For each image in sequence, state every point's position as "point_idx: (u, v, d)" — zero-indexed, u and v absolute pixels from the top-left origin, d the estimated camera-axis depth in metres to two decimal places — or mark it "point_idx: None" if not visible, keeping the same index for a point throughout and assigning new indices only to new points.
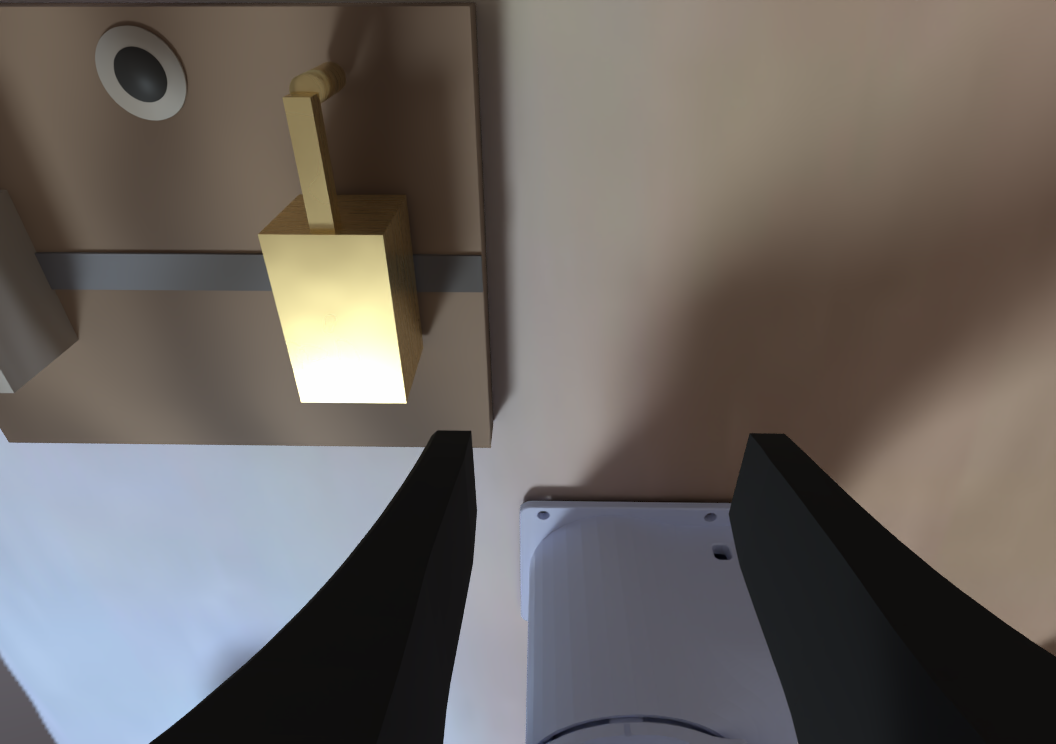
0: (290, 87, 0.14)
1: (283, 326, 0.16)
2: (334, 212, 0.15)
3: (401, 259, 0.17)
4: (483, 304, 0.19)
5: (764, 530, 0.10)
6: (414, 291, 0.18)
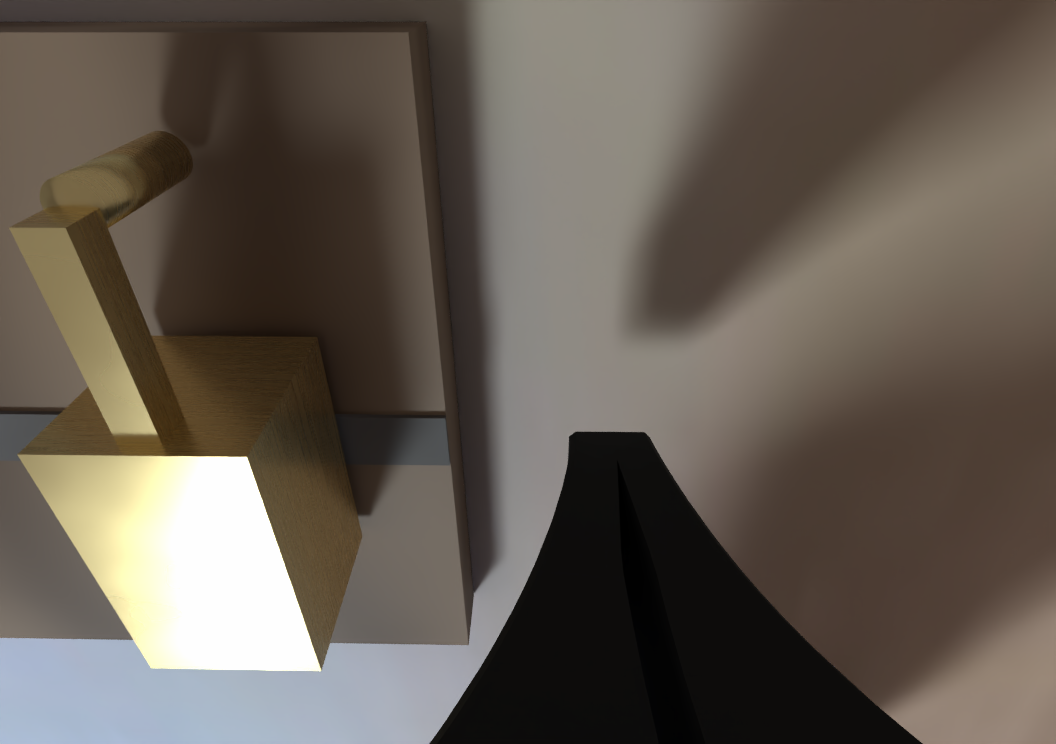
0: (42, 198, 0.07)
1: (100, 576, 0.10)
2: (160, 411, 0.08)
3: (305, 452, 0.10)
4: (451, 478, 0.13)
5: None
6: (340, 472, 0.12)
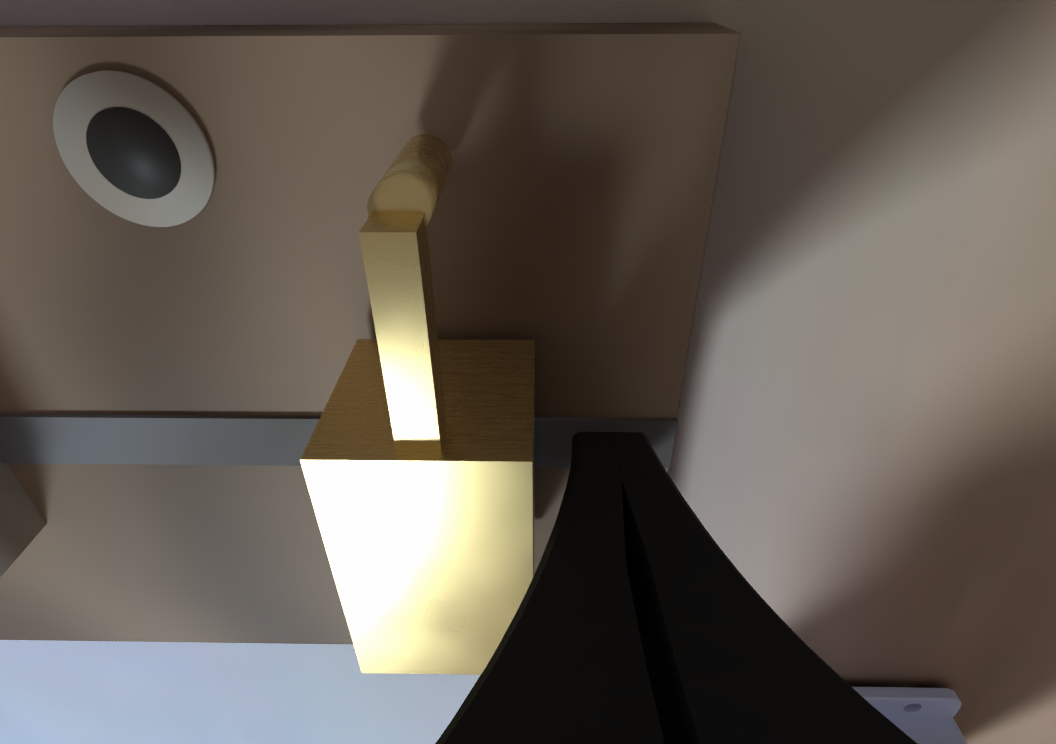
0: (370, 202, 0.07)
1: (338, 581, 0.09)
2: (440, 416, 0.08)
3: None
4: None
5: None
6: (534, 476, 0.12)
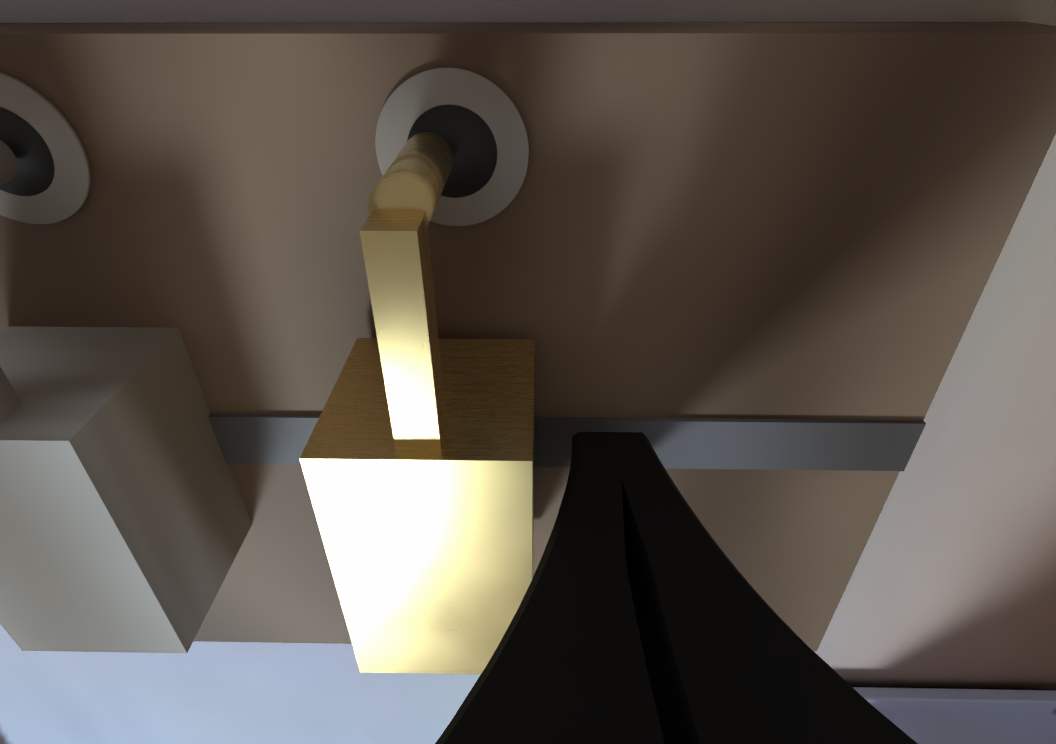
0: (370, 200, 0.07)
1: (336, 580, 0.09)
2: (440, 415, 0.08)
3: (533, 456, 0.10)
4: (891, 483, 0.13)
5: None
6: None
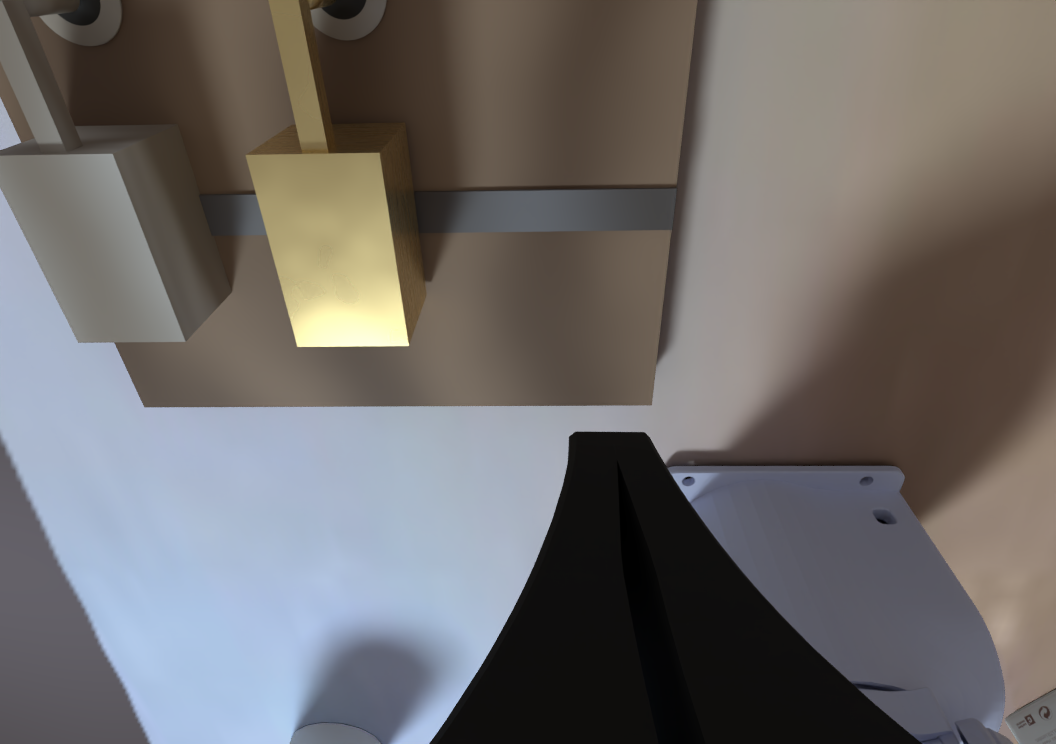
0: None
1: (276, 261, 0.15)
2: (327, 130, 0.14)
3: (400, 189, 0.16)
4: (669, 244, 0.18)
5: None
6: (416, 230, 0.17)
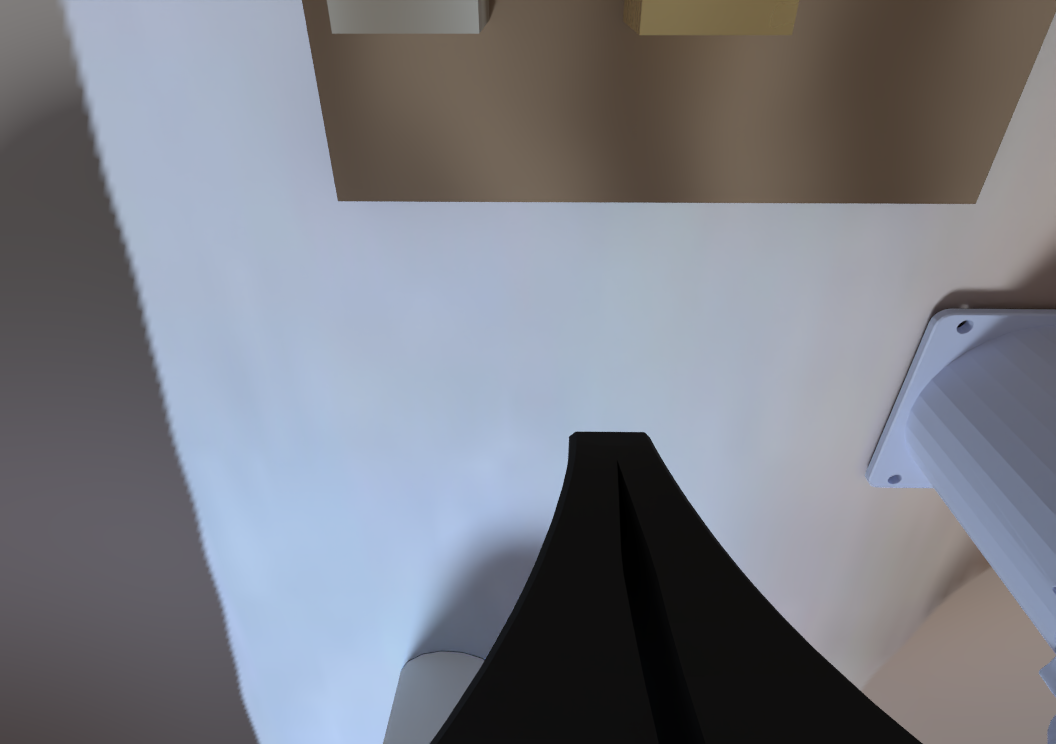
0: None
1: None
2: None
3: None
4: None
5: None
6: None
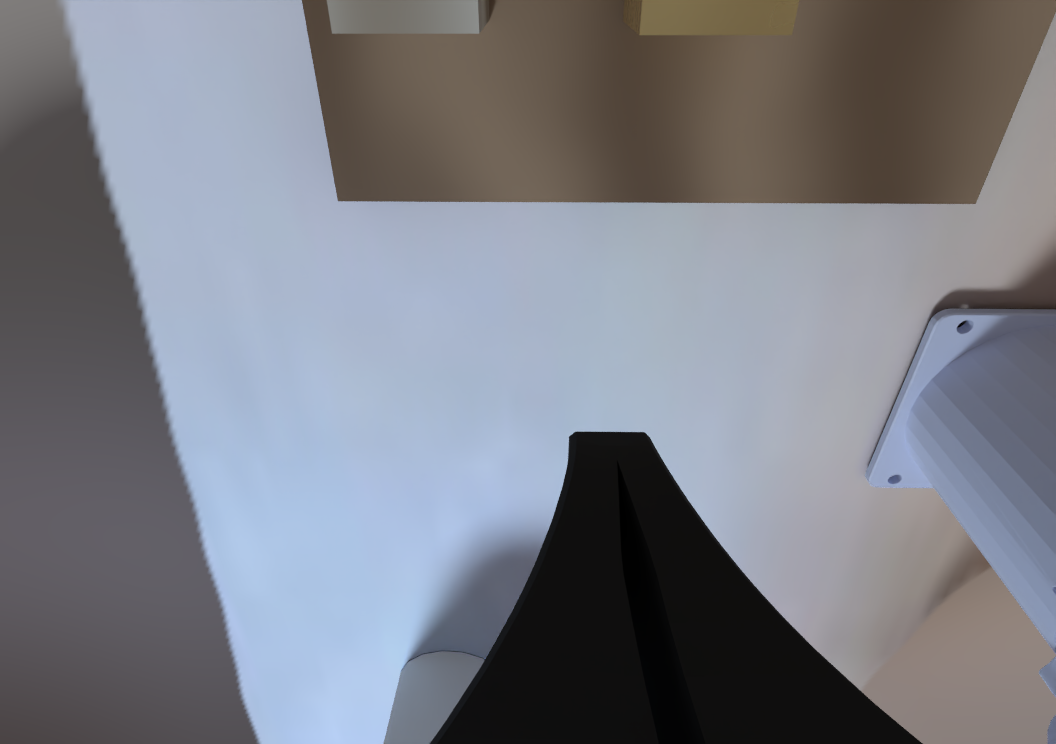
0: None
1: None
2: None
3: None
4: None
5: None
6: None
